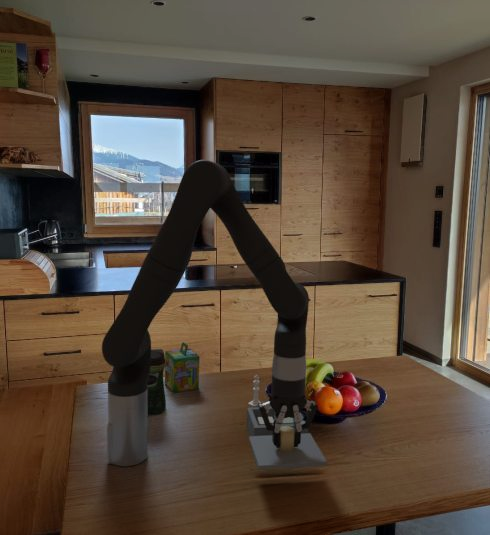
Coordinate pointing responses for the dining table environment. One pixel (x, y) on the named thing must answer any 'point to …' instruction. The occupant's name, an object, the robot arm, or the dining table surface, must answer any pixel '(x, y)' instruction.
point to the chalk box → (182, 369)
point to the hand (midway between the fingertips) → (286, 445)
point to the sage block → (288, 421)
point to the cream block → (261, 422)
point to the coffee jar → (156, 383)
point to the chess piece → (255, 392)
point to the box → (261, 429)
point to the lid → (286, 451)
